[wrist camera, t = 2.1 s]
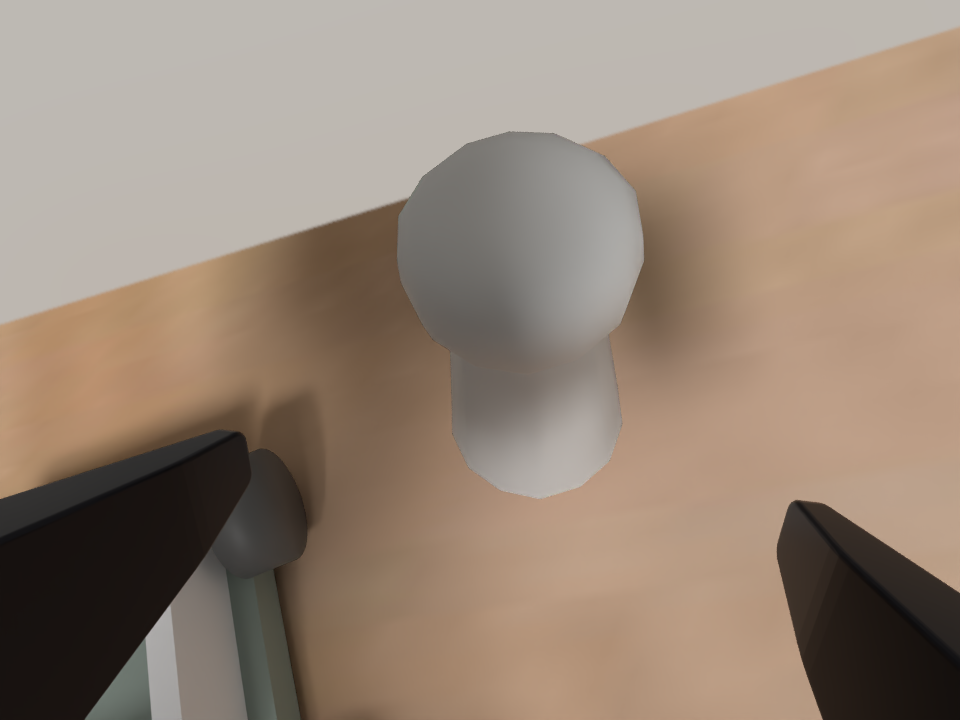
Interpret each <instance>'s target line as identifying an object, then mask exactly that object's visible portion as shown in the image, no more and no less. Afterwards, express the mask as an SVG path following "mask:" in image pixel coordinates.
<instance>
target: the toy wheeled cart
mask: <svg viewBox="0 0 960 720" xmlns="http://www.w3.org/2000/svg"><path fill="white" fill-rule="evenodd" d="M249 458H250V463H251V468H252V477H251V481H250V483H249V486H248V487H247V489H246V491H245V492H244V494H243V496H242V497H241V499H240V501H239V502H238V504H237V506H236V507H235V509H234V510H233V512H232V514H231V515H230V517H229V519H228V520H227V522H226V524H225V525H224V527H223V529H222V530H221V532H220V534H219V535H218V537H217V539H216V540H215V542H214V544H213V545H212V547H211V548H210V550H209V551H208V553H207V555H206V556H205V558H204V559H203V560H202V562H201V563H200V565H199V566H198V568H197V569H196V570H195V572H194V573H193V574H192V576H191V577H190V578H189V580H188V581H187V582H186V584H185V585H184V587H183V588H182V589H181V591H180V592H179V593H178V595H177V596H176V597H175V599H174V600H173V601H172V603H171V604H170V605H169V607H168V608H167V609H166V611H165V612H164V613H163V615H162V616H161V618H160V619H159V620H158V622H157V623H156V624H155V626H154V627H153V628H152V630H151V631H150V632H149V634H148V635H147V636H146V638H145V639H144V640H143V642H142V643H141V644H140V646H139V647H138V649H137V650H136V651H135V653H134V654H133V655H132V657H131V658H130V659H129V661H128V662H127V663H126V665H125V666H124V667H123V669H122V670H121V671H120V673H119V674H118V675H117V677H116V678H115V680H114V681H113V682H112V684H111V685H110V686H109V688H108V689H107V690H106V692H105V693H104V694H103V696H102V697H101V698H100V700H99V701H98V702H97V704H96V705H95V706H94V708H93V709H92V711H91V712H90V713H89V715H88V716H87V717H86V719H85V720H301V717H300V712H299V706H298V701H297V695H296V690H295V684H294V679H293V674H292V668H291V663H290V657H289V652H288V646H287V641H286V636H285V630H284V625H283V619H282V614H281V608H280V603H279V598H278V592H277V587H276V581H275V576H274V570H273V569H274V568H277V567H279V566H282V565H284V564H286V563H289V562H291V561H294V560H296V559H298V558H299V557H301V555H302V554H303V552H304V550H305V547H306V542H307V522H306V515H305V510H304V506H303V502H302V499H301V496H300V493H299V490H298V488H297V485H296V483H295V481H294V479H293V477H292V475H291V473H290V472H289V470H288V469H287V467H286V466H285V464H284V463H283V462H282V461H281V459H280V458H279V457H278V456H277V455H275V454H274V453H273V452H271V451H269V450H267V449H258V450H256V451H253V452H251V453H249Z"/></svg>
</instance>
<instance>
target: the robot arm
mask: <svg viewBox="0 0 960 720" xmlns="http://www.w3.org/2000/svg"><path fill="white" fill-rule="evenodd" d="M251 477H252V468H251V463H250V458H249V452H248V447H247V442H246V438H245V436H244V435H243V434H242V433H241V432H238V431H230V430H216V431H213V432H210V433H206V434H203V435H200V436H197V437H194V438H191V439H188V440H184V441H181V442H178V443H175V444H172V445H169V446H166V447H163V448H159V449H156V450H153V451H150V452H147V453H144V454H141V455H137V456H134V457H131V458H128V459H125V460H122V461H119V462H115V463H112V464H109V465H106V466H103V467H100V468H97V469H94V470H90V471H87V472H84V473H81V474H78V475H75V476H72V477H68V478H65V479H62V480H59V481H56V482H53V483H50V484H47V485H43V486H40V487H37V488H34V489H31V490H28V491H25V492H21V493H18V494H15V495H12V496H9V497H6V498H3V499H0V720H85V719H86V717H87V716H88V715H89V713H90V712H91V711H92V709H93V708H94V706H95V705H96V704H97V702H98V701H99V700H100V698H101V697H102V696H103V694H104V693H105V692H106V690H107V689H108V688H109V686H110V685H111V684H112V682H113V681H114V680H115V678H116V677H117V675H118V674H119V673H120V671H121V670H122V669H123V667H124V666H125V665H126V663H127V662H128V661H129V659H130V658H131V657H132V655H133V654H134V653H135V651H136V650H137V649H138V647H139V646H140V644H141V643H142V642H143V640H144V639H145V638H146V636H147V635H148V634H149V632H150V631H151V630H152V628H153V627H154V626H155V624H156V623H157V622H158V620H159V619H160V618H161V616H162V615H163V613H164V612H165V611H166V609H167V608H168V607H169V605H170V604H171V603H172V601H173V600H174V599H175V597H176V596H177V595H178V593H179V592H180V591H181V589H182V588H183V587H184V585H185V584H186V582H187V581H188V580H189V578H190V577H191V576H192V574H193V573H194V572H195V570H196V569H197V568H198V566H199V565H200V563H201V562H202V560H203V559H204V558H205V556H206V555H207V553H208V551H209V550H210V548H211V547H212V545H213V544H214V542H215V540H216V539H217V537H218V535H219V534H220V532H221V530H222V529H223V527H224V525H225V524H226V522H227V520H228V519H229V517H230V515H231V514H232V512H233V510H234V509H235V507H236V506H237V504H238V502H239V501H240V499H241V497H242V496H243V494H244V492H245V491H246V489H247V487H248V486H249V483H250V481H251ZM777 560H778V564H779V568H780V573H781V577H782V581H783V585H784V589H785V594H786V598H787V602H788V606H789V610H790V615H791V619H792V623H793V627H794V631H795V636H796V640H797V644H798V648H799V651H800V655H801V659H802V662H803V665H804V668H805V671H806V674H807V677H808V680H809V683H810V685H811V688H812V691H813V694H814V697H815V699H816V702H817V705H818V708H819V711H820V713H821V716H822V719H823V720H960V593H959V592H958V591H956V590H955V589H953V588H952V587H950V586H948V585H947V584H945V583H944V582H942V581H941V580H939V579H938V578H936V577H935V576H933V575H932V574H930V573H929V572H927V571H926V570H924V569H923V568H921V567H920V566H918V565H917V564H915V563H914V562H912V561H911V560H909V559H908V558H906V557H904V556H903V555H901V554H900V553H898V552H897V551H895V550H894V549H892V548H891V547H889V546H888V545H886V544H885V543H883V542H882V541H880V540H879V539H877V538H876V537H874V536H873V535H871V534H870V533H868V532H867V531H865V530H864V529H862V528H861V527H859V526H858V525H856V524H854V523H853V522H851V521H850V520H848V519H847V518H845V517H844V516H842V515H841V514H839V513H838V512H836V511H835V510H833V509H832V508H830V507H829V506H827V505H825V504H823V503H818V502H809V501H801V500H795V501H793V502H791V504H790V505H789V507H788V509H787V513H786V516H785V519H784V523H783V526H782V529H781V533H780V536H779V540H778V543H777Z"/></svg>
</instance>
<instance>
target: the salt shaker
mask: <svg viewBox="0 0 960 720" xmlns="http://www.w3.org/2000/svg"><path fill="white" fill-rule="evenodd" d="M643 262H644V242H643V232H642V226H641V220H640V214H639V208H638V202H637V196H636V191H635V190H634V188H633V187H632V186H631V185H630V184H629V183H628V182H627V181H626V179H625V178H624V177H623V176H622V175H621V174H620V173H619V172H618V170H617V169H616V168H615V167H614V166H613V165H612V164H611V163H610V161H609V160H608V159H607V158H606V157H605V156H604V155H601V154H599V153H597V152H595V151H592V150H590V149H588V148H586V147H584V146H581V145H579V144H577V143H575V142H573V141H570V140H568V139H566V138H564V137H561V136H559V135H557V134H554V133H533V132H506V133H503V134H499V135H496V136H492V137H489V138H485V139H482V140H478V141H475V142H471V143H468V144H466V145H464V146H463V147H462V148H460V149H459V150H458V151H456V152H455V153H454V154H452V155H451V156H450V157H448V158H447V159H446V160H444V161H443V162H442V163H440V164H439V165H437V166H436V167H435V168H433V169H432V170H431V171H429V172H428V173H427V174H425V175H424V176H423V177H422V178H421V180H420V182H419V183H418V185H417V186H416V188H415V190H414V192H413V193H412V195H411V196H410V198H409V200H408V201H407V203H406V205H405V206H404V208H403V209H402V211H401V213H400V214H399V216H398V243H397V264H398V269H399V275H400V280H401V284H402V286H403V288H404V290H405V292H406V294H407V296H408V298H409V300H410V302H411V304H412V305H413V307H414V309H415V311H416V313H417V315H418V317H419V319H420V321H421V323H422V325H423V326H424V328H425V329H426V331H427V332H428V334H429V335H430V337H431V338H432V339H433V340H434V341H436V342H437V343H439V344H440V345H442V346H444V347H445V348H447V349H448V350H450V361H451V394H452V434H453V436H454V438H455V440H456V443H457V445H458V447H459V449H460V451H461V453H462V455H463V457H464V459H465V461H466V463H467V466H468V468H469V469H471V470H472V471H474V472H475V473H476V474H478V475H479V476H481V477H482V478H484V479H485V480H486V481H488V482H489V483H491V484H492V485H493V486H495V487H496V488H498V489H499V490H500V491H505V492H509V493H514V494H519V495H524V496H528V497H533V498H538V499H542V498H546V497H549V496H552V495H555V494H559V493H562V492H565V491H569V490H572V489H575V488H578V487H581V486H582V485H583V484H584V483H585V482H586V481H587V480H588V479H590V478H591V477H592V476H593V475H594V474H595V473H596V472H598V471H599V470H600V469H601V468H602V467H603V466H604V465H605V464H607V463H608V462H609V461H610V458H611V456H612V453H613V450H614V447H615V444H616V441H617V438H618V435H619V432H620V429H621V427H622V417H621V409H620V401H619V393H618V386H617V380H616V374H615V368H614V362H613V356H612V351H611V345H610V339H609V333H610V332H612V331H613V330H614V329H615V328H616V327H618V326H619V325H620V323H621V321H622V318H623V316H624V313H625V310H626V308H627V305H628V303H629V300H630V297H631V295H632V292H633V289H634V286H635V284H636V281H637V278H638V276H639V273H640V270H641V268H642V265H643Z"/></svg>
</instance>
